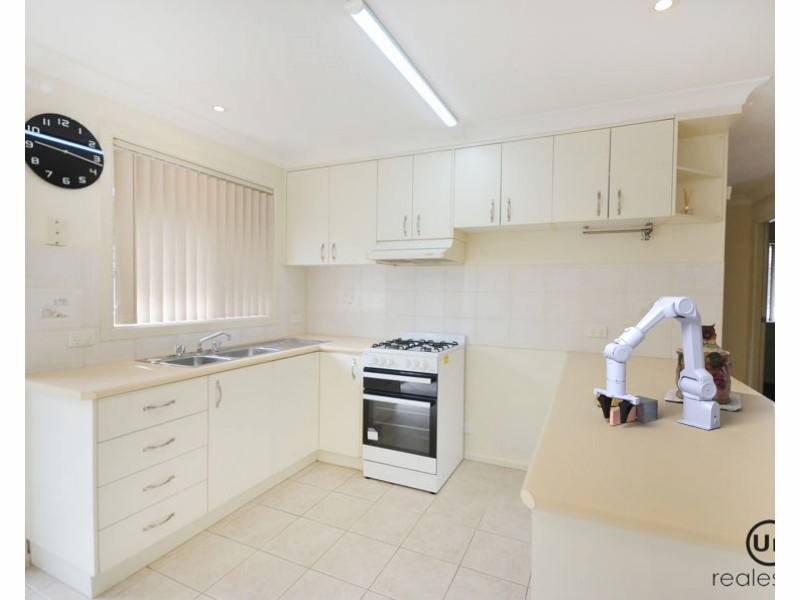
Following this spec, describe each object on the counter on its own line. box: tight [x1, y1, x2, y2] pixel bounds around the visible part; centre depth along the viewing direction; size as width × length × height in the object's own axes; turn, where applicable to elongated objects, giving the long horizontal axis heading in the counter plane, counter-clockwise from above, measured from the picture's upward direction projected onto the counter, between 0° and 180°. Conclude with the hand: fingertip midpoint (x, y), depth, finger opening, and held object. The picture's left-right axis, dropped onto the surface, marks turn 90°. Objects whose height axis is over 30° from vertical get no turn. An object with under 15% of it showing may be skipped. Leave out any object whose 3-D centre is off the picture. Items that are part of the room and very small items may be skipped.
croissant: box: [595, 386, 623, 407], centre depth 160 cm, size 21×10×8 cm, turn 133°
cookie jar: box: [663, 323, 743, 412], centre depth 164 cm, size 25×25×32 cm
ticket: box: [609, 405, 637, 426], centre depth 135 cm, size 1×13×5 cm, turn 119°
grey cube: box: [633, 395, 659, 424], centre depth 140 cm, size 7×8×7 cm
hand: (615, 420), depth 133 cm, fingers open, 5 cm apart
